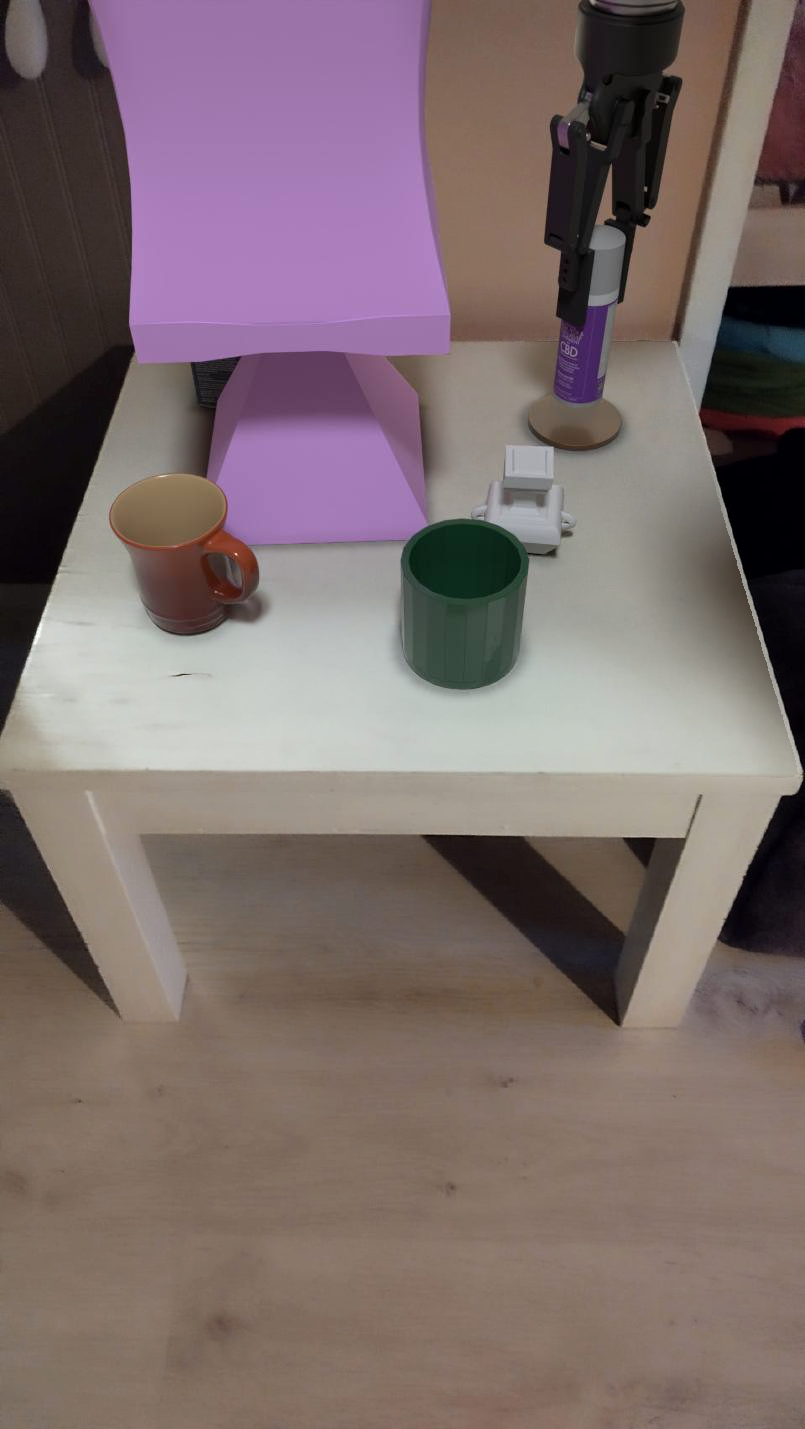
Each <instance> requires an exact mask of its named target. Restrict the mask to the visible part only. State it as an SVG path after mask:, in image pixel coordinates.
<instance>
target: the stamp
mask: <svg viewBox="0 0 805 1429" xmlns="http://www.w3.org/2000/svg"><path fill="white" fill-rule="evenodd" d="M554 448H555V447H554V446H546V445H545V446H542V445H509V444H508V445H507V444H505V449H504V463H503V477H502V478H503V479H502V480H495V479H493V480H491V482H490V483H489V485H488V490H487V498H486V503H485V505H482V506H476V507H475V508H473V509H472V510H471V511H470V519H475V520H483V521H487V522H490V523H493V524H496V525H499V526H501V527H503V528H504V529H506V530H507V531H509V532H511V533H512V534H514V535H515V536H516V537H517V538H518V539H519V541H520V542H521V543H522V544H523V545H524V547H525V549H526V552H527V554H528V553H529V554H539V555H546V554H547V553H548V552H551V551H553V550H555V549H557V548H558V547H560V546H561V544H562V543H561V542H562V531H563V530H570V529H573V528H575V527H576V525H577V522H578V520H577V518H576V517H575V516H574V515H573V514H572V513H569V512H565V511H564V504H565V489H564V487H563V485H557V484H554V478H555V477H554V476H555V475H554V474H555V473H554V471H555V469H554V466H555V465H554V464H555V463H554V462H555V458H554V457H555V456H554V455H555V454H554V452H555V450H554Z"/></svg>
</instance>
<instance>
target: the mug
mask: <svg viewBox="0 0 805 1429" xmlns="http://www.w3.org/2000/svg"><path fill="white" fill-rule="evenodd" d="M227 513H228V502H227V498H226V496H225V494H224V492H223V490H222V489H221V488H220V487H219V486H218V485H217V484H215V483H214V482H212V481H210V480H208V479H207V477H204V476H201V475H198V474H192V473H185V472H171V473H169V472H168V473H162V474H161V473H160V474H156V475H152V476H149V477H146V478H144V479H141V480H139V481H137V482H135V483H132V484H131V485H130V486H128V487H127V488H125V489H124V490H123V491H122V492H121V493H119V494H118V496H117V497H116V498H115V499H114V501H113V502H112V503H111V506H110V509H109V513H108V521H109V525H110V528H111V530H112V532H113V533H114V535H115V536H116V538H117V539H118V540H119V542H120V543H121V545H122V546H123V547H124V548H125V550H126V551H127V553H128V555H129V557H130V560H131V563H132V568H133V573H134V577H135V581H136V585H137V589H138V591H139V598H140V601H141V602H142V604H143V606H144V607H145V609H146V612H147V613H148V615H149V617H150V618H151V620H152V621H153V622H154V624H156V625H157V626H158V627H159V628H161V629H163V630H166V631H167V632H171V633H175V634H195V633H200V632H203V631H208V630H209V629H212V628H213V627H216V626H218V624H220V623H221V622H222V621H224V619H226V617H227V616H228V615H229V614H230V613H231V612H232V609H233V607H234V605H237V604H238V605H239V604H244V603H245V602H247V601H249V600H250V599H251V598H252V597H253V596H254V595H255V593H256V592H257V589H258V587H259V585H260V568H259V567H260V566H259V562H258V559H257V556H256V555H255V552H254V551H253V550H252V548H250V546H249V545H246V544H245V543H243V542H242V541H240V540H238V539H236V538H235V537H233V536H232V535H231V534H230V533H228V532H226V531H225V530H224V529H225V523H226V518H227ZM230 559H232V560H233V561H234V562H235V563H236V564H237V567H238V568H239V571H240V578H241V586H239V585H237V584H235V578H234V575H233V572H232V567H231V561H230Z"/></svg>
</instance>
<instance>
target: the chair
mask: <svg viewBox="0 0 805 1429" xmlns="http://www.w3.org/2000/svg"><path fill="white" fill-rule="evenodd" d="M87 3H88V5H89V9H90V11H91V14H92V16H93V20H94V23H95V25H96V29H97V33H98V36H99V39H100V42H101V46H102V49H103V53H104V56H105V59H106V62H107V66H108V70H109V72H110V76H111V80H112V83H113V85H112V86H113V88H114V89H113V90H114V94H115V97H116V102H117V106H118V111H119V115H120V119H121V123H122V128H123V133H124V134H123V135H124V140H125V149H126V156H127V166H128V173H129V182H130V204H131V207H130V208H131V231H132V232H131V272H130V273H131V274H130V292H129V293H130V294H129V312H128V314H129V315H128V317H129V318H128V326H129V329H130V330H129V331H130V334H131V338H132V343H133V346H134V351H135V354H136V359H137V363H138V365H140V364H168V363H169V364H171V363H172V364H173V363H190V362H202V361H209V360H216V359H223V358H230V357H237V356H242V357H241V358H240V360H239V362H238V364H237V366H236V367H235V369H234V371H233V373H232V375H231V377H230V378H229V380H228V382H227V384H226V386H225V388H224V389H223V391H222V393H221V395H220V397H219V398H218V401H217V408H215V416H214V422H213V429H212V437H211V444H210V450H209V451H210V452H209V458H208V465H207V473H206V479H208V480H210V481H212V482H214V483H215V484H217V485H218V486H219V487H220V488H221V489H222V490H223V492H224V494H225V496H226V498H227V502H228V513H227V518H226V523H225V529H224V530H225V531H226V532H228V533H230V534H231V535H232V536H233V537H235V538H236V539H238V540H240V541H242V542H243V543H245V544H246V545H247V546H263V545H264V546H266V545H267V546H268V545H294V544H295V545H296V544H321V543H322V544H327V543H353V542H354V543H357V542H384V541H387V542H388V541H409V540H410V538H411V537H412V536H413V535H414V534H416V533H417V532H419V531H420V530H422V529H423V528H425V527H427V526H429V523H428V510H427V509H428V508H427V497H426V483H425V472H424V458H423V444H422V433H421V419H420V405H419V393H418V392H417V391H416V390H415V388H413V387H412V385H410V383H409V382H408V381H407V380H406V379H405V377H404V376H403V375H402V374H401V373H400V372H399V371H398V369H397V368H396V367H395V366H394V365H393V364H392V362H391V361H390V360H388V358H387V357H397V356H399V357H400V356H401V357H402V356H430V355H431V356H433V355H450V353H451V352H450V351H451V307H450V306H451V305H450V299H449V291H448V282H447V278H446V268H445V263H444V256H443V248H442V247H443V246H442V240H441V231H440V223H439V212H438V204H437V196H436V195H437V194H436V187H435V181H434V180H435V178H434V172H433V168H432V162H431V158H430V151H429V147H428V142H427V136H426V117H425V113H426V112H425V106H426V83H427V82H426V81H427V80H426V79H427V61H428V49H429V41H430V32H431V22H432V12H433V11H432V10H433V4H434V0H87Z"/></svg>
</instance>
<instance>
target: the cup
mask: <svg viewBox="0 0 805 1429" xmlns="http://www.w3.org/2000/svg"><path fill="white" fill-rule="evenodd" d="M399 562H400V565H399V566H400V599H401V600H400V607H401V608H400V611H401V612H400V613H401V614H400V616H401V641H402V652H403V656H404V658H405V660H406V663H407V665H408V666H409V667H410V669H412V671H413V672H414V673H416V675H418V676H419V677H420V678H422V679H424V681H427V682H429V683H431V684H432V685H436V686H439V687H443V688H447V689H453V690H474V689H478V688H479V689H480V688H482V687H486V686H489V685H492V684H494V683H496V682H497V681H500V680H501V679H502V678H504V677H505V676H506V675H507V674H509V673H510V672H511V670H512V669H513V668H514V666H515V665H516V663H517V660H518V658H519V655H520V647H521V640H522V639H521V638H522V631H523V620H524V612H525V603H526V596H527V594H526V593H527V585H528V577H529V568H530V557H529V555H528V553H527V552H526V549H525V547H524V545H523V544H522V543H521V542H520V541H519V539H518V538H517V537H516V536H515V535H514V534H512V533H511V532H509V531H507V530H506V529H504V528H503V527H501V526H499V525H496V524H493V523H490V522H487V521H483V520H475V519H472V518H463V517H462V518H461V517H460V518H452V519H444V520H441V521H438V522H435V523H431V524H428V526H427V527H425V528H423V529H422V530H420V531H419V532H417V533H416V534H414V535H413V536H412V537H411V538H410V540H407V542H406V544H404V546H403V547H402V552H401V557H400V560H399Z"/></svg>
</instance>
